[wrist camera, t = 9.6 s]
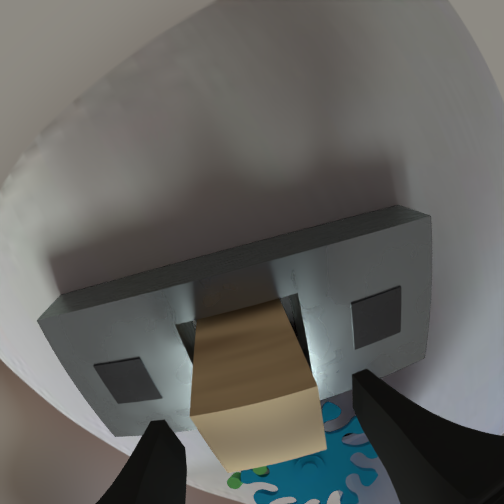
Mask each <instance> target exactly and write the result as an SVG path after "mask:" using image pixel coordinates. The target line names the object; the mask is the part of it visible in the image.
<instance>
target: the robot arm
mask: <svg viewBox="0 0 504 504" xmlns="http://www.w3.org/2000/svg"><path fill="white" fill-rule="evenodd" d="M352 392H353V409H354V411H355V414H356V416H357V418H358V421H359V423H360V425H361V428H362V430H363V431H364V433H362V434H354V433H353V434H350V435H348V436H345V437H342V442H343V443H346V444H350V445H359V444H363V443H366V442H368V441H369V442H370V443H371V445H372V447H373V449H374V450H375V452H376V454H377V455H378V457H377V458H374V459H369V458H367V457H366V456H365V455H364V454H362V453H360V452H358V453H355V454H353V455H352V456H351V458H350V460H351V461H352V462H353V463H354V464H355V465H357V466H359V467H362V468H373V469H375V470H376V472H377V474H378V477H377V478H376V480H375V481H374V482H373V483H372V484H371V485H370V486H363V485H362V484H361V481H360V479H359V475H358V474H350V475H348V476H347V478H346V485H347V487H348V488H349V489H350V490H351V491H353V492H355V493H356V494H357V495H358V499H359V503H357V504H504V436H500V435H494V434H489V433H485V432H481V431H478V430H474V429H471V428H467V427H464V426H461V425H458V424H456V423H453V422H451V421H448V420H446V419H444V418H442V417H440V416H437V415H435V414H433V413H432V412H430V411H428V410H426V409H424V408H422V407H421V406H419V405H417V404H416V403H414V402H412V401H411V400H409V399H408V398H406V397H405V396H403V395H402V394H400V393H399V392H397V391H396V390H395V389H393V388H392V387H390V386H389V385H388V384H386V383H385V382H384V381H382V380H381V379H380V378H379V377H377V376H376V375H375V374H374V373H372V372H371V371H370V370H368V369H364V370H362V371H359V372H357V373H354V374H352ZM186 477H187V465H186V453H185V447H184V446H183V444H182V443H181V442H180V440H179V439H178V437H177V436H176V435H175V433H174V432H173V430H172V429H171V428H170V426H169V425H168V423H167V422H166V420H165V419H164V420H155V421H151V422H150V423H149V425H148V427H147V428H146V430H145V432H144V434H143V435H142V437H141V439H140V441H139V442H138V444H137V446H136V448H135V449H134V451H133V453H132V454H131V456H130V458H129V459H128V461H127V463H126V464H125V466H124V468H123V469H122V471H121V472H120V474H119V475H118V476H117V478H116V479H115V481H114V482H113V484H112V485H111V486H110V488H109V489H108V490H107V491H106V493H105V494H104V495H103V496H102V497H101V498H100V500H99V501H98V502H97V503H96V504H185V498H186ZM338 492H339V495H340V498H341V496H342V494H343V492H342V491H339V490H338Z"/></svg>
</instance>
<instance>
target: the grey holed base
mask: <svg viewBox="0 0 504 504" xmlns="http://www.w3.org/2000/svg"><path fill="white" fill-rule="evenodd" d="M431 285H432V229H431V216H430V215H427V214H424V213H421V212H418V211H415V210H412V209H409V208H406V207H403V206H400V205H397V206H393V207H389V208H385V209H381V210H377V211H373V212H369V213H365V214H361V215H357V216H353V217H350V218H346V219H342V220H338V221H334V222H330V223H326V224H322V225H319V226H315V227H311V228H307V229H303V230H299V231H296V232H292V233H288V234H284V235H280V236H276V237H273V238H269V239H265V240H261V241H257V242H254V243H250V244H246V245H242V246H239V247H235V248H231V249H227V250H224V251H220V252H216V253H212V254H209V255H205V256H201V257H198V258H194V259H190V260H186V261H183V262H179V263H175V264H172V265H168V266H164V267H161V268H157V269H153V270H150V271H146V272H142V273H139V274H135V275H131V276H128V277H124V278H120V279H117V280H113V281H110V282H106V283H102V284H99V285H95V286H92V287H88V288H84V289H81V290H77V291H74V292H70V293H67V294H63V295H60V296H59V297H58V298H57V299H56V300H55V301H54V302H53V303H52V304H51V306H50V307H49V308H48V309H47V310H46V311H45V312H44V313H43V314H42V315H41V316H40V317H39V318H38V320H37V322H38V324H39V325H40V327H41V329H42V331H43V333H44V335H45V337H46V338H47V340H48V342H49V344H50V345H51V347H52V349H53V351H54V352H55V354H56V356H57V357H58V359H59V361H60V362H61V364H62V365H63V367H64V369H65V370H66V372H67V373H68V375H69V376H70V378H71V379H72V381H73V382H74V384H75V385H76V387H77V388H78V390H79V391H80V392H81V394H82V395H83V397H84V398H85V399H86V401H87V402H88V404H89V405H90V406H91V408H92V409H93V410H94V411H95V413H96V414H97V415H98V417H99V418H100V419H101V420H102V422H103V423H104V424H105V425H106V427H107V428H108V429H109V430H110V431H111V433H112V434H113V435H114V436H115V437H120V436H139V435H143V434H144V432H145V430H146V428H147V427H148V425H149V423H150V422H151V421H155V420H164V419H165V420H166V422H167V423H168V425H169V426H170V428H171V429H172V430H173V432H181V431H189V430H196V429H197V427H196V426H195V424H194V423H193V421H192V420H191V418H190V401H191V385H192V371H193V358H194V346H195V335H196V331H195V329H194V326H193V324H192V321H193V320H197V319H201V318H205V317H209V316H213V315H217V314H221V313H225V312H229V311H233V310H237V309H241V308H245V307H249V306H252V305H256V304H260V303H264V302H267V301H271V300H275V299H278V298H282V297H285V296H289V297H290V302H291V307H292V312H293V316H294V321H295V326H296V331H297V336H298V341H299V345H300V347H301V349H302V351H303V354H304V356H305V358H306V361H307V363H308V365H309V367H310V370H311V372H312V374H313V377H314V379H315V381H316V383H317V386H318V392H319V398H320V400H323V399H326V398H329V397H332V396H335V395H338V394H341V393H344V392H346V391H349V390H352V374H354V373H357V372H359V371H362V370H364V369H368V370H370V371H371V372H372V373H374V374H375V375H376V376H377V377H379V378H382V377H384V376H387V375H389V374H391V373H394V372H396V371H398V370H400V369H403V368H405V367H407V366H409V365H411V364H413V363H415V362H417V361H420V360H422V359H424V358H425V352H426V345H427V337H428V327H429V317H430V304H431Z"/></svg>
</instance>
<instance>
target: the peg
mask: <svg viewBox="0 0 504 504" xmlns="http://www.w3.org/2000/svg"><path fill="white" fill-rule="evenodd" d="M190 418H191V420H192V421H193V423H194V424H195V426H196V427H197V429H198V431H199V432H200V434H201V435H202V437H203V438H204V440H205V441H206V443H207V444H208V446H209V447H210V449H211V450H212V452H213V453H214V454H215V456H216V457H217V459H218V460H219V461H220V463H221V464H222V466H223V467H224V468H225V470H226V471H227V472H228V473H230V472H236V471H242V470H248V469H253V468H258V467H263V466H267V465H272V464H276V463H280V462H284V461H288V460H292V459H296V458H299V457H303V456H306V455H310V454H313V453H316V452H320V451H323V450H326V449H327V446H326V439H325V432H324V425H323V418H322V411H321V404H320V398H319V392H318V386H317V383H316V381H315V379H314V377H313V374H312V372H311V370H310V367H309V365H308V363H307V361H306V358H305V356H304V354H303V351H302V349H301V347H300V345H299V342H298V340H297V338H296V335H295V333H294V331H293V329H292V326H291V324H290V322H289V320H288V317H287V315H286V313H285V311H284V308H283V306H282V304H281V301H280V299H279V298H278V299H275V300H271V301H267V302H264V303H260V304H256V305H252V306H249V307H245V308H241V309H237V310H233V311H229V312H225V313H221V314H217V315H213V316H209V317H205V318H201V319H197V324H196V335H195V346H194V358H193V371H192V385H191V401H190Z"/></svg>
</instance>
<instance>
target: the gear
mask: <svg viewBox="0 0 504 504" xmlns="http://www.w3.org/2000/svg"><path fill="white" fill-rule="evenodd" d="M340 414H341V409H340V408H339V407H338V406H337V405H335V404H333V403H331V402H329V401H328V402H326V403H325V404H324V405H323V407H322V418H323V424H324V423H325V422H326V421H329V420H333V419H336V418H337V417H338V416H339V415H340ZM324 432H325V439H326V446H327V449H326V450H323V451H320V452H316V453H313V454H310V455H306V456H303V457H299V458H296V459H292V460H288V461H284V462H280V463H276V464H272V465H267V466H263V467H258V468H253V469H248V470H242V471H241V473H240V472H236V473H234V474H233V475H232V476H231V477H230V478H229V479H228V481H227V484H228V486H229V487H230V488H233V489H237V488H239V487H240V486H241V485H242V484H243V483H246V484H250V483H253V482H266V483H270V484H273V485H275V486H277V487H278V490H277V491H275V492H271V491H268V490H263V489H262V490H258V491H256V493H255V494H254V496H253V497H254V500H255V502H256V503H257V504H269V503H270V502H272V501H274V500H276V499H278V498H282V497H294V498H296V500H297V501H296V502H294V503H289V504H304V503H306V502H307V501H309V500H311V499H318V500H319V501H320V503H319V504H327V500H328V498H329V496H330V494H331V493H332V492H333V491H337V490H339V491H342V492H343V494H342V496H341V498H340V502H341V504H357V503H359V499H358V495H357V494H356V493H355V492H353V491H351V490H350V489H349V488H348V487H347V485H346V478H347V476H348V475H350V474H358V475H359V479H360V481H361V484H362V485H363V486H370V485H371V484H372V483H373V482H374V481H375V480H376V478H377V477H378V474H377V472H376V470H375V469H373V468H362V467H359V466H357V465H355V464H354V463H353V462H352V461H351V460H350V458H351V456H352V455H353V454H355V453H358V452H360V453H362V454H364V455H365V456H366V457H367V458H369V459H374V458H377V457H378V455H377V454H376V452H375V450H374V449H373V447H372V445H371V443H370V442H369V441H368V442H366V443H363V444H359V445H350V444H346V443H343V442H342V437H343V436H344V435H345V434H347V433H354V434H362V433H364V431H363V430H362V428H361V425H360V423H359V421H358V418H357V416H354V417H353V418H352V419H351V420H350V422H349V423H348V424H347V425H345V426H344V427H343V428H341V429H338V430H335V431H331V432H327V431H325V430H324Z"/></svg>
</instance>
